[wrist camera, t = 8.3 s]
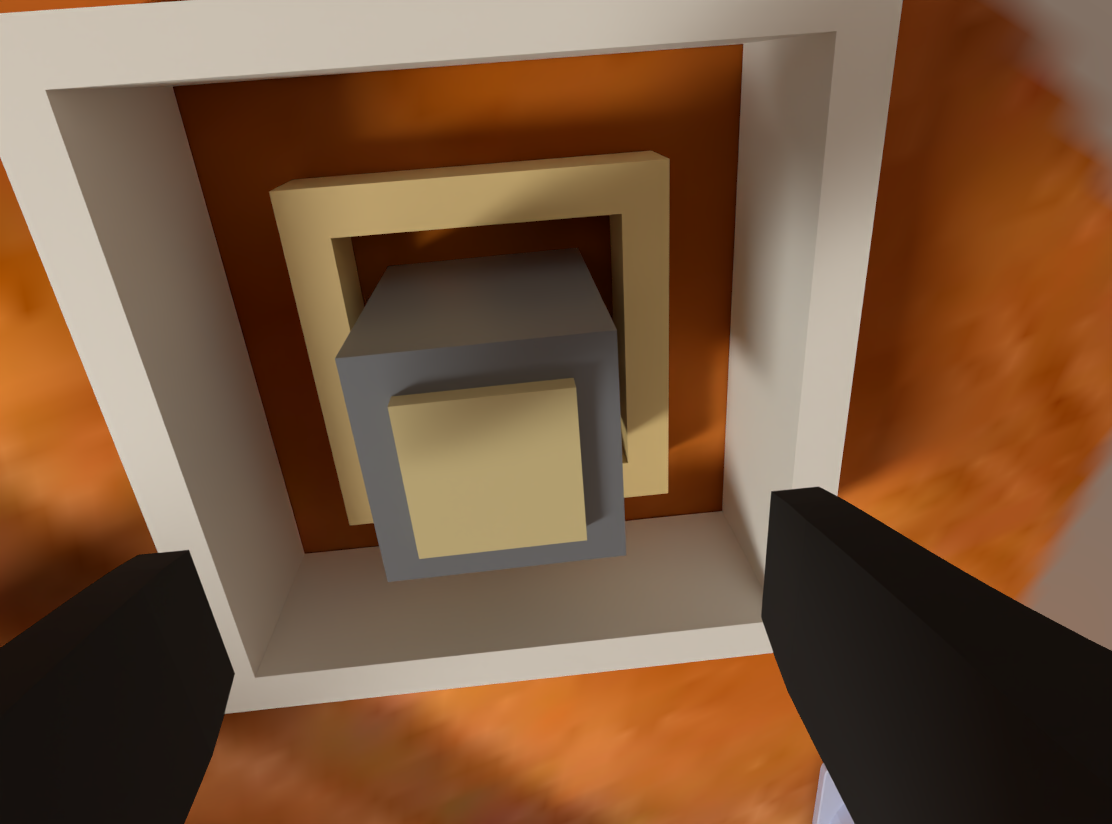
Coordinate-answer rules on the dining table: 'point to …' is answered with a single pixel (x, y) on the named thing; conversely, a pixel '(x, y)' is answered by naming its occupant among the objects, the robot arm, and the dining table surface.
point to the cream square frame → (336, 303)
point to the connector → (487, 414)
